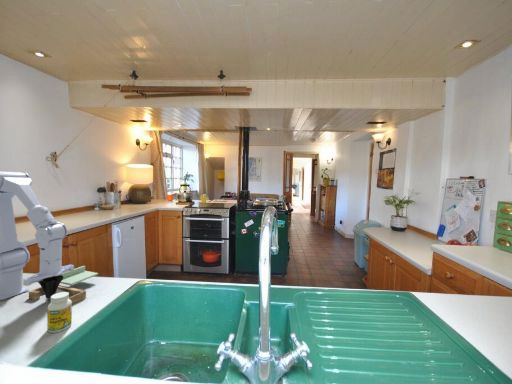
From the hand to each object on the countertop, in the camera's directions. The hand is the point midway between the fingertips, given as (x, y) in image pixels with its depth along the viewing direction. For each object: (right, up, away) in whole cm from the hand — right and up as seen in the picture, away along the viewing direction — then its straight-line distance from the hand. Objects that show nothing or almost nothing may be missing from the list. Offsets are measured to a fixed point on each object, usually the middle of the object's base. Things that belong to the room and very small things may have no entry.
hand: (50, 297), depth 81 cm
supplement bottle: (+15, -3, -14) cm, 20 cm away
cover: (0, +3, +11) cm, 11 cm away
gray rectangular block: (+1, -1, +2) cm, 3 cm away
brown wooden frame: (+1, -1, +2) cm, 2 cm away
